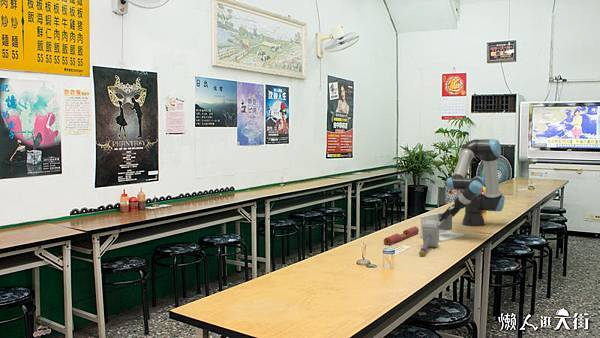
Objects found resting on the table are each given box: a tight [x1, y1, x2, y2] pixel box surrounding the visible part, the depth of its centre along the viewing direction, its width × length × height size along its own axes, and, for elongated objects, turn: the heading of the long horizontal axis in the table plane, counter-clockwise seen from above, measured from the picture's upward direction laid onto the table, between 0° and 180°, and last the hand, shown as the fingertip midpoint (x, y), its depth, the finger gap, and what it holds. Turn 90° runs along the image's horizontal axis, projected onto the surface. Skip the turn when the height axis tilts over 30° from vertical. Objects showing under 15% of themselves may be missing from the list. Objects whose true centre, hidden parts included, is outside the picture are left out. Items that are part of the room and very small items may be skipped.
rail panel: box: [420, 211, 466, 243], centre depth 336 cm, size 26×16×14 cm, turn 131°
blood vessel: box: [383, 226, 420, 246], centre depth 333 cm, size 42×5×5 cm, turn 144°
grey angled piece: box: [418, 220, 440, 257], centre depth 299 cm, size 15×8×30 cm
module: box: [438, 212, 453, 231], centre depth 334 cm, size 5×7×11 cm
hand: (440, 223), depth 337 cm, fingers closed on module, 5 cm apart
